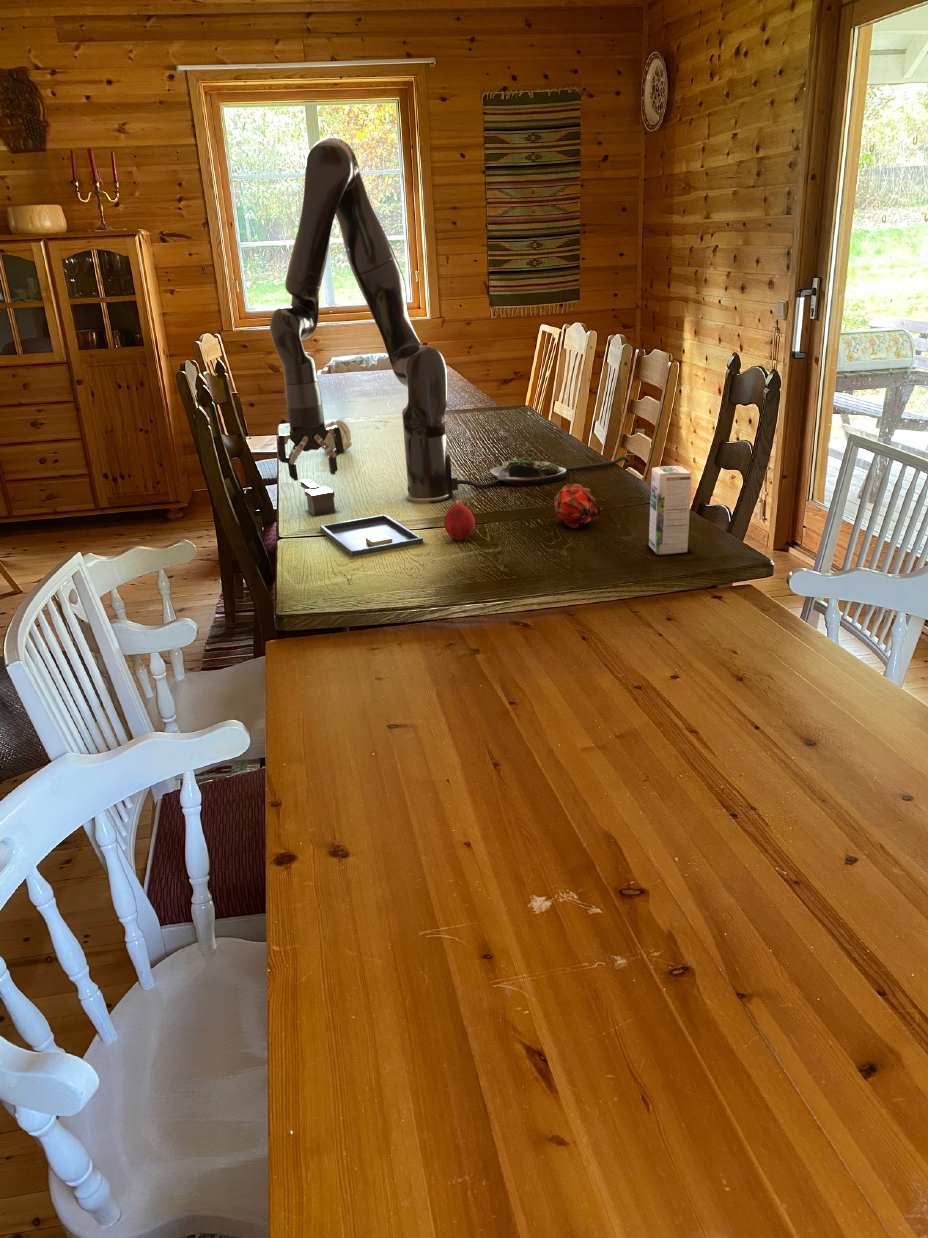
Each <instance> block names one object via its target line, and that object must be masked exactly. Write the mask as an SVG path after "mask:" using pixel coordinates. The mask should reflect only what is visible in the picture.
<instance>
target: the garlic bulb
mask: <svg viewBox="0 0 928 1238" xmlns="http://www.w3.org/2000/svg"><path fill="white" fill-rule="evenodd" d="M333 426H337V427H339V428H340V432H341V437H342V443H343V448H344V452H346V451H347V450H348V449H350V448H351V447H352V444H353V443H352V438H351V437H352V436H351V435H352V434H351V430H350V428H349V426H348V425H347V423H346V422H345V421H344V420H342V419H337V420H335V421H334V420H333V421H331V422H329V423H327V424H326V423H325V427H326V428H331V427H333ZM325 442H326V443H327V444H328V445H329V446H330V448H331V449H332V450H334V449H335V442H334V437H332V436H331V435H330V433H328V435H327V437H326V439H325ZM321 449H322V450H323V451H324V452H325V453H327V452H326V451H325V450H324V449H323V448H322V447H321Z"/></svg>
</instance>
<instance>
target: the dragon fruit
mask: <svg viewBox="0 0 928 1238" xmlns="http://www.w3.org/2000/svg"><path fill="white" fill-rule="evenodd" d="M592 493H593V492H592V490H591V488H589V487H583V486H582V485H581V484H579V483H569V484H566V485H564V486H563V487H562V488H561V489H560V491H559V492H558V493H557V494H556V495H555V496H554V500H553V501H554V502H553V508H555V511H554V514H555V515H554V516H555V518H556V521H557V522H558V523H560V522H564V523H565V524H566V525H567V526H568V527H569V528H572V529H579V528H580V527H579V525H580V524H586V525H587V524H589V523H590V522H591V521H592V518H595V517H598V516H600V515H601V514H602V511H603V510H602V507H599V508H598V506H599V505H598V503H597V500H596V498H595V496H594V495H592ZM596 506H597V507H596Z"/></svg>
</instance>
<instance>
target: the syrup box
mask: <svg viewBox="0 0 928 1238" xmlns="http://www.w3.org/2000/svg"><path fill="white" fill-rule="evenodd" d="M692 476H693V475H692V472H690V471H688V470H687V469H686V468H685V467H683V466H681V465H680V466H678V465H664V466H663V465H662V466H656V467H652V468H651V487H650V505H649V506H650V507H649V529H648V546H649V547H650V549H651V550H652V551H653V552H654V553H655V554H656V555H659V556H660V555H661V556H662V555H674V554H682V553H683V554H684V553H688V547H689V534H690V533H689V531H690V510H691V496H692V495H691V494H692V493H691V492H692Z"/></svg>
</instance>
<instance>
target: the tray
mask: <svg viewBox="0 0 928 1238" xmlns="http://www.w3.org/2000/svg"><path fill="white" fill-rule="evenodd" d="M319 529H320V532H321V533H323V534H324V535H325V536H326V537H327V538H328V539H330V540H331V541H332V542H333V543H335V544H336V545H337V546H338V547H340V548H341V549H342V550H343V551H344V552H346V553H347V554H348V555H349V556H350V557H352V558H355V557H359V556H364V555H365V556H366V555H371V554H376V553H381V552H385V551H391V550H392V551H393V550H397V549H403V548H408V547H413V546H417V545H423V544H424V538H423V537H422V536H420V535H418V534H417V533H415V532H414V531H412V530H410V529H409V528H408V527H406V526H405V525H403V524H401V523H399V522H398V521H396V520H395V519H393V518H392V517H390V516H389V515H387V514H380V515H374V516H369V517H363V518H356V519H351V520H344V521H340V522H334V523H328V524H323V525H320V526H319ZM379 534H386V535H388V536H389V537H391V538H392V543H390V544H384V545H379V546H374V547H372V546H371V545H370V544H368V543H367V542H366V537H368V536H374V535H379Z"/></svg>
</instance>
